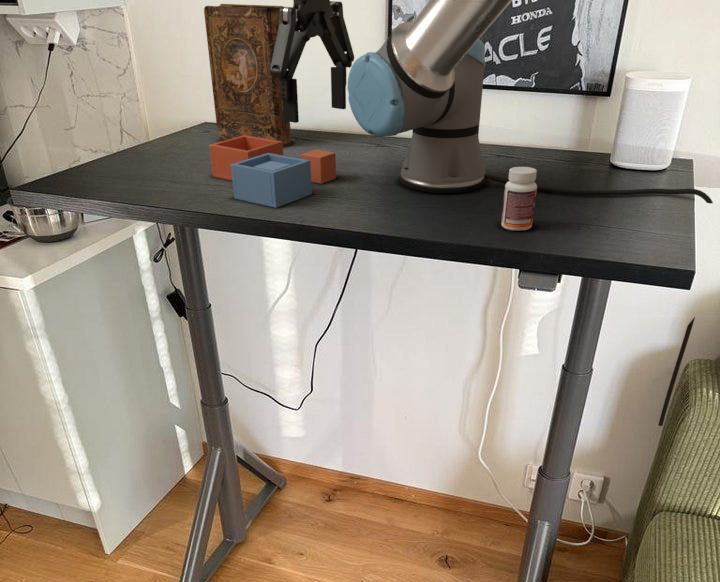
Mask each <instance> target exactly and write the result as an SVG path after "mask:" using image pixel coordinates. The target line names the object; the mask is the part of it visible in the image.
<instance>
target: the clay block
mask: <svg viewBox="0 0 720 582" xmlns="http://www.w3.org/2000/svg"><path fill="white" fill-rule="evenodd" d="M300 159H305V160H310V165H311V183H315V184H319V185H323V184H325V183H327V182H331V181H333V180H336V179H337V161H336V152H333V151H328V150H321V149H314V150H309V151H307V152H304V153H301V154H300Z"/></svg>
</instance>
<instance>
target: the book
mask: <svg viewBox="0 0 720 582" xmlns="http://www.w3.org/2000/svg"><path fill="white" fill-rule="evenodd" d="M280 7H284V6H283V5H268V4H267V5H265V4H239V3H238V4H236V3H235V4H234V3H221V4H219V5H205V6H204V8H203V13H204V23H205V32H206V40H207V49H208V58H209V68H210V75H211V76H210V78H211V86H212V95H213V96H212V97H213V104H214V105H213V106H214V115H215V122H216V132H217V136H218V138H219V139H220V140H221V141H225V140H229V139H232V138H236V137H240V136H243V135H247V136H253V137H259V138H265V139H270V140H276V141H282V142H283V148H284V147H285V148H286V147H288V146H291V145H292V131H291V122H288V121H284V116H283V100H282V99H281V90H280V79H279V78H275V77H274V75H271V74H270V66H271V61H272V57H273V52H274V47H275V42H276V37H277V33H278V28H279V11H280ZM278 68H279V66H278Z"/></svg>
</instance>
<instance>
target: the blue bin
mask: <svg viewBox="0 0 720 582" xmlns="http://www.w3.org/2000/svg"><path fill="white" fill-rule="evenodd" d="M283 155H284V154H283ZM283 155H277V154H271V153H266V154H263V155H260V156H256V157H253V158H250V159H247V160H243V161H240V162H237V163H234V164H231V172H232V181H231V183H232V191H233V197H234V200H240V201H244V202H248V203H253V204H257V205H261V206H265V207H270V208H274V209H276V208H280V207H282V206H285V205H287V204H290V203H292V202H294V201H297V200H300V199H303V198H306V197H308V196H310V195H312V194H313V191H312V190H313V189H312V182H311V165H310V160H305V159H301V158H300V157H294V156H293V157H292V156H288V155H284V156H283ZM269 161H273V162H279V163H285V164H290V166H287V167H284V168H281V169H278V170H275V171H270V170H265V169H260V168H254V166H257V165H260V164H263V163H266V162H269Z"/></svg>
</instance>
